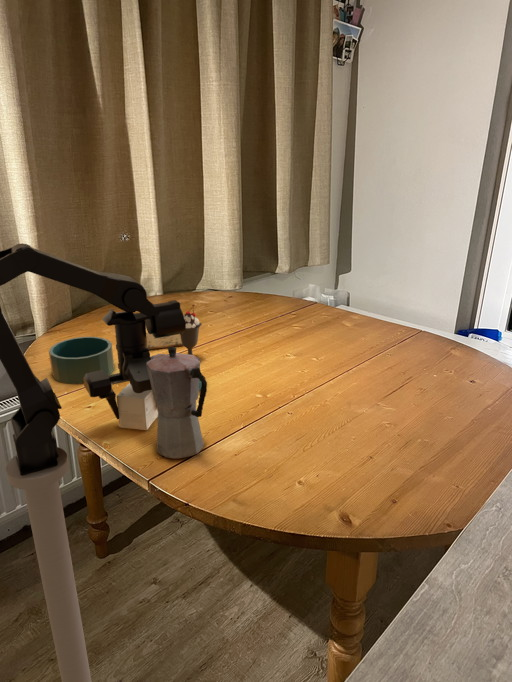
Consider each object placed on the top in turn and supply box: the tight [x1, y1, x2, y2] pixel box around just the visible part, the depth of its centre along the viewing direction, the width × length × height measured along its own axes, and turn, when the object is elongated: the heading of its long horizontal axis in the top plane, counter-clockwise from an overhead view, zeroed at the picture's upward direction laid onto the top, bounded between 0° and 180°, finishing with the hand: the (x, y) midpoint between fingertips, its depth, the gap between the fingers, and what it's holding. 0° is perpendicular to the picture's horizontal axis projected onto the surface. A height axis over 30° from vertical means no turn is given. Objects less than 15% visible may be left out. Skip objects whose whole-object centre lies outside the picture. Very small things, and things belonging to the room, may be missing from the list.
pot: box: [48, 336, 115, 385], centre depth 124 cm, size 15×15×6 cm
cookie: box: [146, 332, 183, 350], centre depth 145 cm, size 12×12×1 cm
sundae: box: [179, 304, 202, 362], centre depth 130 cm, size 7×7×15 cm
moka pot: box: [146, 346, 208, 459], centre depth 91 cm, size 10×15×20 cm, turn 51°
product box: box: [116, 382, 158, 431], centre depth 101 cm, size 6×6×7 cm
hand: (138, 413), depth 102 cm, fingers closed on product box, 8 cm apart
